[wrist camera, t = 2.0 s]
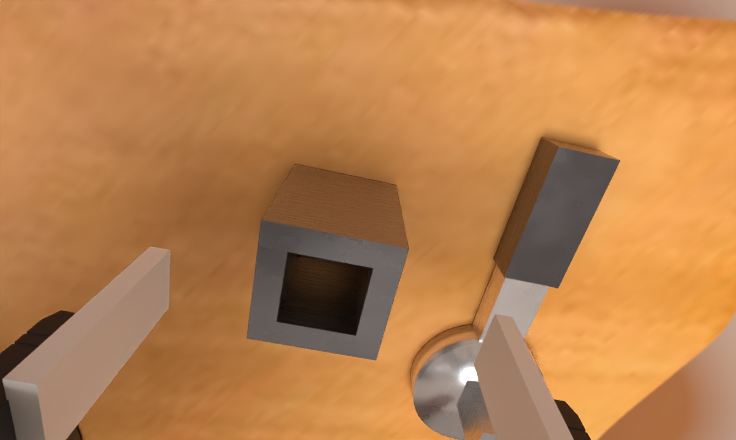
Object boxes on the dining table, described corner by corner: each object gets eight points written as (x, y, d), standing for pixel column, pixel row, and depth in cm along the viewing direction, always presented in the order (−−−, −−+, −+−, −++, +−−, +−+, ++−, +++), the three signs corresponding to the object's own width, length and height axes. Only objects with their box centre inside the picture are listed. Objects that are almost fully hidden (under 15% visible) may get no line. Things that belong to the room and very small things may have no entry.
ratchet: (397, 407, 31) (404, 486, 25) (494, 126, 22) (536, 153, 17) (507, 425, 32) (537, 505, 26) (643, 160, 23) (729, 197, 17)
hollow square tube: (281, 253, 25) (246, 338, 18) (295, 163, 23) (261, 219, 16) (373, 270, 26) (375, 360, 19) (396, 185, 24) (408, 248, 16)
